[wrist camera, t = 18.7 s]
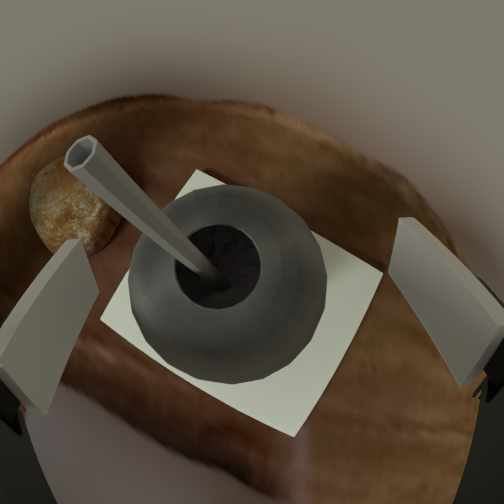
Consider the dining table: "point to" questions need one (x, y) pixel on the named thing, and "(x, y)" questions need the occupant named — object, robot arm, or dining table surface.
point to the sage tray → (305, 364)
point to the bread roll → (69, 210)
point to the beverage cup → (214, 273)
